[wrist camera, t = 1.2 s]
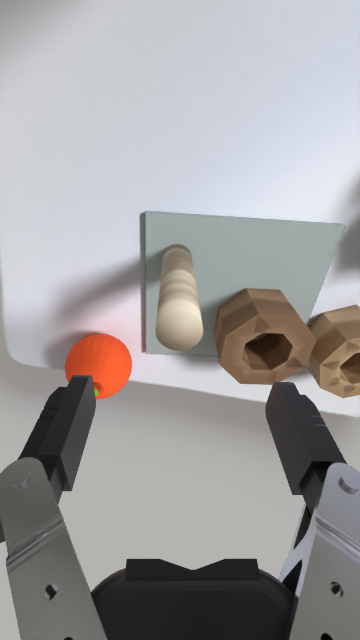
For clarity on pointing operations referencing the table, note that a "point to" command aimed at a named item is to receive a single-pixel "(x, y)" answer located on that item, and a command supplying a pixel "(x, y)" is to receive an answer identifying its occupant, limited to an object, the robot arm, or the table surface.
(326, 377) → the oak bead
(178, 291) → the birch peg
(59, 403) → the robot arm
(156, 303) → the grey mat
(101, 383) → the clementine
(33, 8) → the table surface
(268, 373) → the walnut bead
